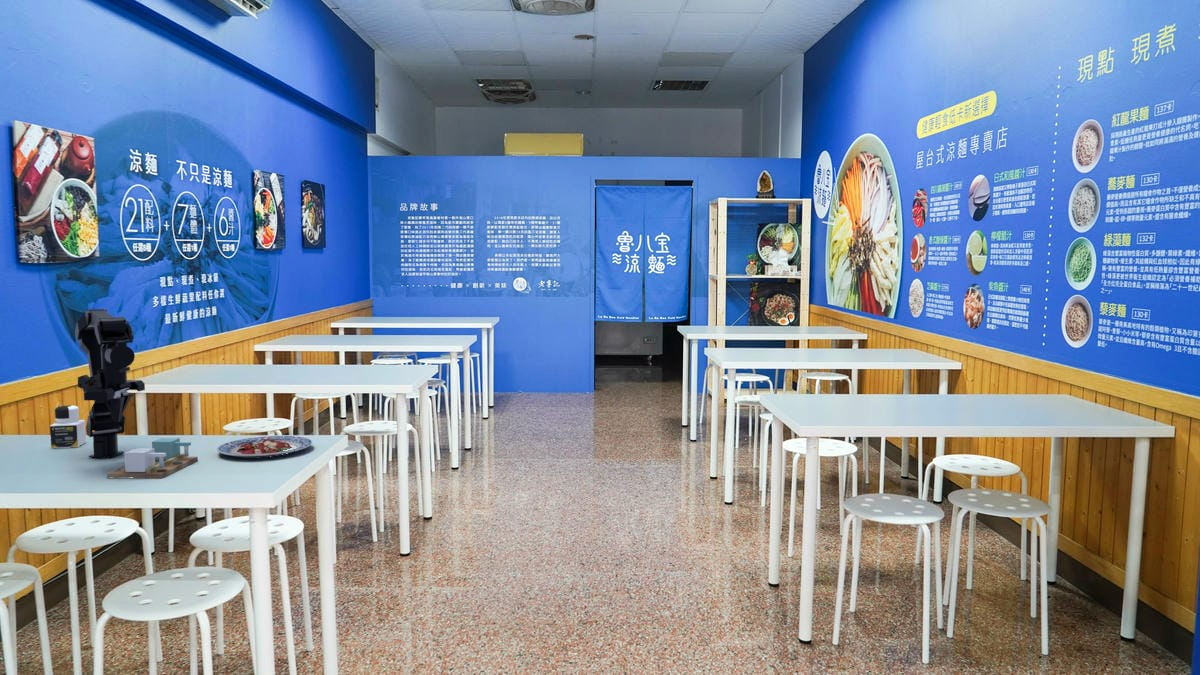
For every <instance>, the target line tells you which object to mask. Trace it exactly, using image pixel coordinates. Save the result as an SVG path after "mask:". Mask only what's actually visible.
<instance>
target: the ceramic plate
mask: <svg viewBox="0 0 1200 675" xmlns="http://www.w3.org/2000/svg"><path fill="white" fill-rule="evenodd" d="M283 436H284V437H283ZM295 436H296V435H295ZM295 436H293V435H271V436H267V435H266V436H256V437H247V438H241V439H236V440H231V441H228V442H225V443H222V444H220V445H219V446H218V447H217V448H216V450H217V452H218V453H219V454H221V455H224V456H225V455H226V456H232V457H236V458H241V457H243V458H244V459H258V458H257V457H269V458H271V457H270V456H277V455H282V454H286V453H291V452H293V453H295V452H298V451H301V450H305V449H307V448H308V447H311V445H312V444H313V441H312V440H311V439H310V438H307V437H301V436H296V437H295ZM290 445H294V446H296V447H297V448H296V449H293V450H288V451H283V450H287V449H290V448H292V447H291V446H290ZM294 451H295V452H294ZM291 454H292V453H291ZM277 457H278V456H277Z"/></svg>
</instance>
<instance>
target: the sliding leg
mask: <svg viewBox="0 0 1200 675" xmlns="http://www.w3.org/2000/svg"><path fill="white" fill-rule="evenodd" d="M191 445H192V442H191V441H181V439H180V437H161V438H158V439H156V440H154V441H151V448H155V453H166V456H165V457H163V458H164V460H168V459H170V458H173V457H175V456H177V455H179V454H181V447H183V448H184V450H183V452H184V454H185V457H190V455H189V454H190V453H189V446H191ZM155 460H159V457H155Z"/></svg>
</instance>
